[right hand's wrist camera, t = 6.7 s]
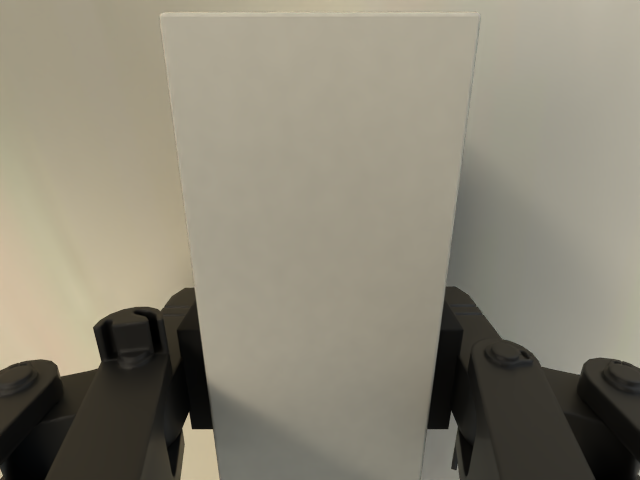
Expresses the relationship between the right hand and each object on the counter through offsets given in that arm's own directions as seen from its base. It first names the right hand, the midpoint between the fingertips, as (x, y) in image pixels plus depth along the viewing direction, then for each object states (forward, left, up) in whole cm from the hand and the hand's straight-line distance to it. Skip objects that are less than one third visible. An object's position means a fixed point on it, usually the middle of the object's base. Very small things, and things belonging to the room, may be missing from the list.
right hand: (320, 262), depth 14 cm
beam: (+16, -18, -1) cm, 24 cm away
